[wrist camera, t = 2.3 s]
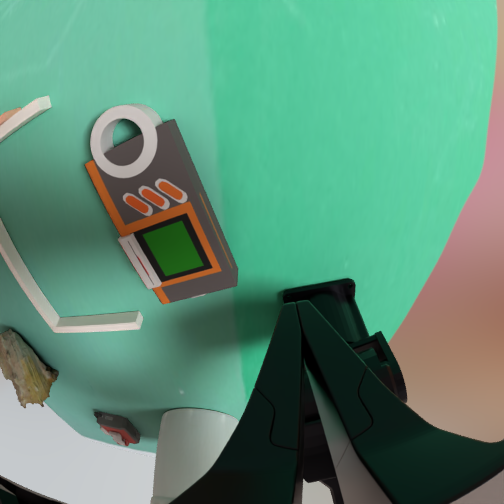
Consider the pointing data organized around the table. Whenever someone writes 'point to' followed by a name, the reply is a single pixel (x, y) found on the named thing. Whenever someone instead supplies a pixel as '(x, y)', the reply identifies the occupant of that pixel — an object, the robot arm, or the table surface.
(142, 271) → the electronic device
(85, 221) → the table surface
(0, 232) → the docking bay
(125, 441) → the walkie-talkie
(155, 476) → the utensil holder
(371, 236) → the table surface
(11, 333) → the seashell
